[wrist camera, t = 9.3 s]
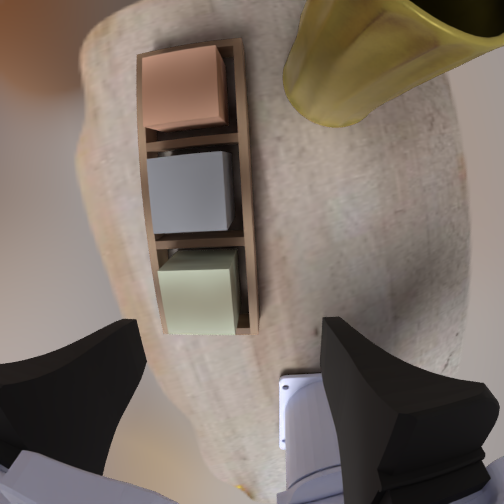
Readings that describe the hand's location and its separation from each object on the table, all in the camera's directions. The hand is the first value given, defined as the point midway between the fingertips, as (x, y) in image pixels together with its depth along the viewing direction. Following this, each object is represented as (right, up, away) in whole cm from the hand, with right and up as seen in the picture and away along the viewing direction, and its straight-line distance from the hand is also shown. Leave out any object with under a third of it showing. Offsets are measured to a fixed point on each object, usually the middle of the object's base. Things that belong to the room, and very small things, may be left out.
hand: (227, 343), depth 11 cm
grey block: (-2, +7, +8) cm, 11 cm away
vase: (+6, +14, +6) cm, 16 cm away
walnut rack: (-2, +7, +8) cm, 11 cm away
